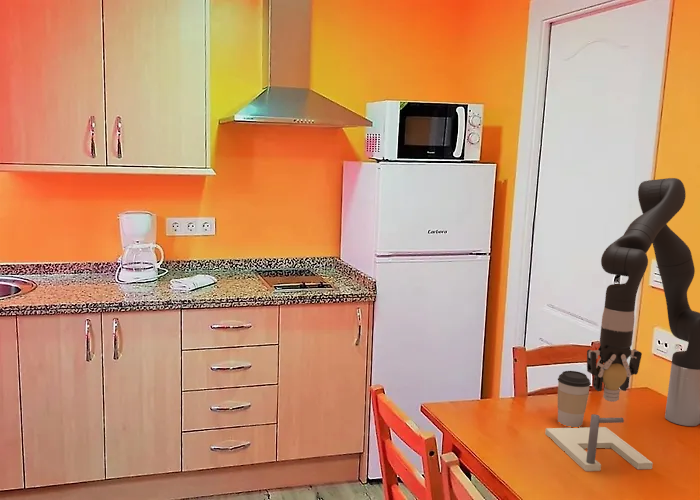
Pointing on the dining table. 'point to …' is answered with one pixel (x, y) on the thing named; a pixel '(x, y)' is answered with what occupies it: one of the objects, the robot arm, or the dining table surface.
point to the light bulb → (613, 381)
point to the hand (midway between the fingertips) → (610, 389)
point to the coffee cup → (572, 397)
